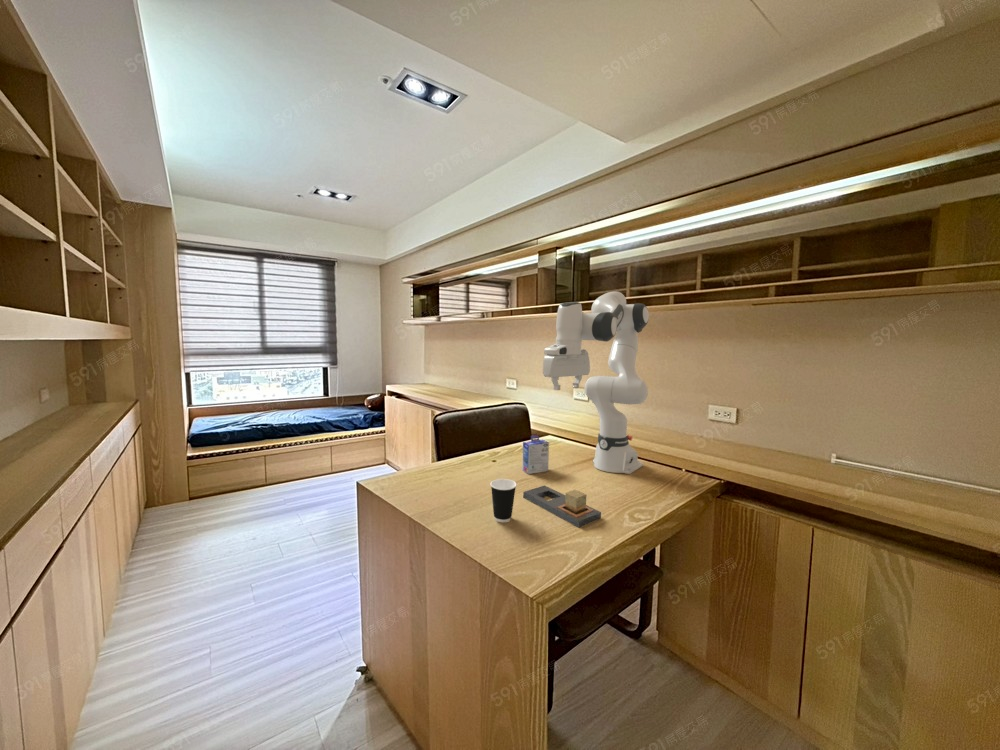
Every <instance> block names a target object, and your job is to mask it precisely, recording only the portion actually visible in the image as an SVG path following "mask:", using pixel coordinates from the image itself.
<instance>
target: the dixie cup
mask: <svg viewBox="0 0 1000 750" xmlns="http://www.w3.org/2000/svg"><path fill="white" fill-rule="evenodd" d="M489 485H490V488H491V497H492V508H493V509H492V510H493V517H494V520H495V521H496V522H498V523H508V522H510V521H511V517H512V515H513V511H514V510H513V509H514V508H513V507H514V502H515V494H516V493H515V492H516V487H517V482H516V481H514V480H512V479H508V478H497V479H494V480H492V481H490V484H489Z"/></svg>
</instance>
